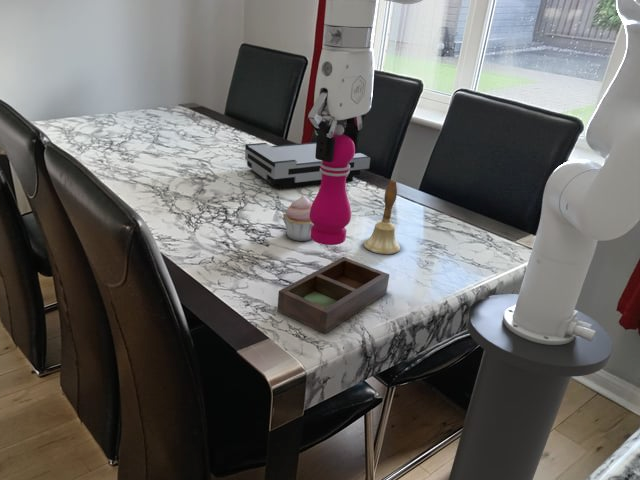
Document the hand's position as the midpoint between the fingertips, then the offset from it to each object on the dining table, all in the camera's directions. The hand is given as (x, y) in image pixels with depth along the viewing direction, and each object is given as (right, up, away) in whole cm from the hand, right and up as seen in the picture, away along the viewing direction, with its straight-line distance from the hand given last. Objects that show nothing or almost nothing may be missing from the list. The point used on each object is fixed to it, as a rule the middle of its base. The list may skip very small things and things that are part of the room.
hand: (336, 155), depth 95 cm
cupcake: (-3, -10, +42) cm, 43 cm away
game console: (+2, +13, +83) cm, 84 cm away
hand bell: (+16, -13, +38) cm, 43 cm away
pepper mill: (-1, -13, +7) cm, 15 cm away
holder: (+2, -25, +15) cm, 29 cm away
